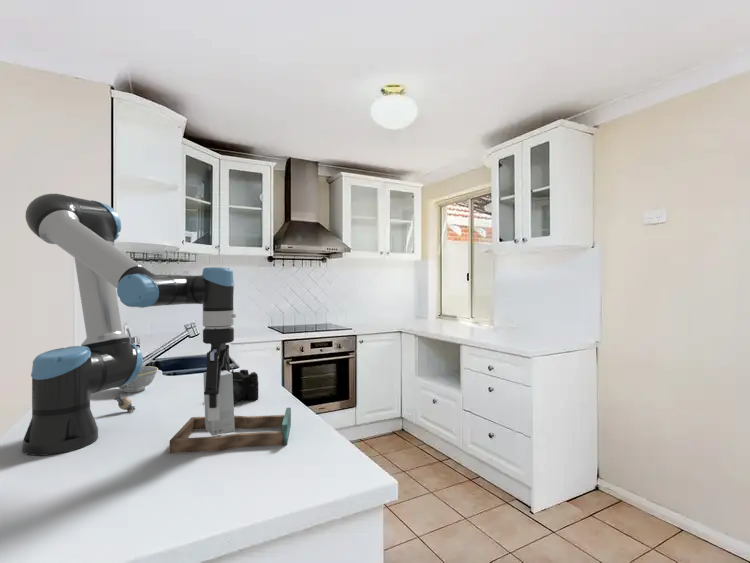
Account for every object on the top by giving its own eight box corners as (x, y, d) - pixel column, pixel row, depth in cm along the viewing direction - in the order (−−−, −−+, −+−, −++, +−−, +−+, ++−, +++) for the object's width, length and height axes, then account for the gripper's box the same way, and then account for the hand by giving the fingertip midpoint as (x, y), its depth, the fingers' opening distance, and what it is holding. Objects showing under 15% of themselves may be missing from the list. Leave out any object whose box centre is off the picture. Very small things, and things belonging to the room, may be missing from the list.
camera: (207, 403, 141) (206, 373, 141) (228, 395, 151) (228, 367, 151) (241, 407, 136) (241, 376, 136) (261, 398, 146) (261, 370, 146)
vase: (110, 416, 127) (110, 396, 128) (116, 412, 132) (116, 392, 133) (130, 414, 129) (130, 394, 129) (135, 410, 134) (135, 391, 134)
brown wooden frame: (169, 453, 99) (169, 432, 99) (191, 428, 116) (191, 410, 116) (286, 447, 102) (286, 426, 102) (291, 423, 120) (291, 405, 120)
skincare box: (235, 432, 107) (234, 373, 107) (210, 437, 103) (209, 376, 103) (226, 423, 114) (226, 368, 114) (203, 427, 110) (202, 370, 110)
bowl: (166, 388, 160) (166, 368, 160) (123, 398, 147) (123, 376, 147) (143, 383, 169) (143, 364, 169) (100, 392, 155) (100, 371, 155)
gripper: (223, 331, 98) (224, 427, 98) (241, 322, 120) (241, 401, 120) (190, 332, 97) (190, 429, 97) (214, 323, 119) (214, 402, 119)
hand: (218, 413), depth 109 cm, fingers closed on skincare box, 9 cm apart
